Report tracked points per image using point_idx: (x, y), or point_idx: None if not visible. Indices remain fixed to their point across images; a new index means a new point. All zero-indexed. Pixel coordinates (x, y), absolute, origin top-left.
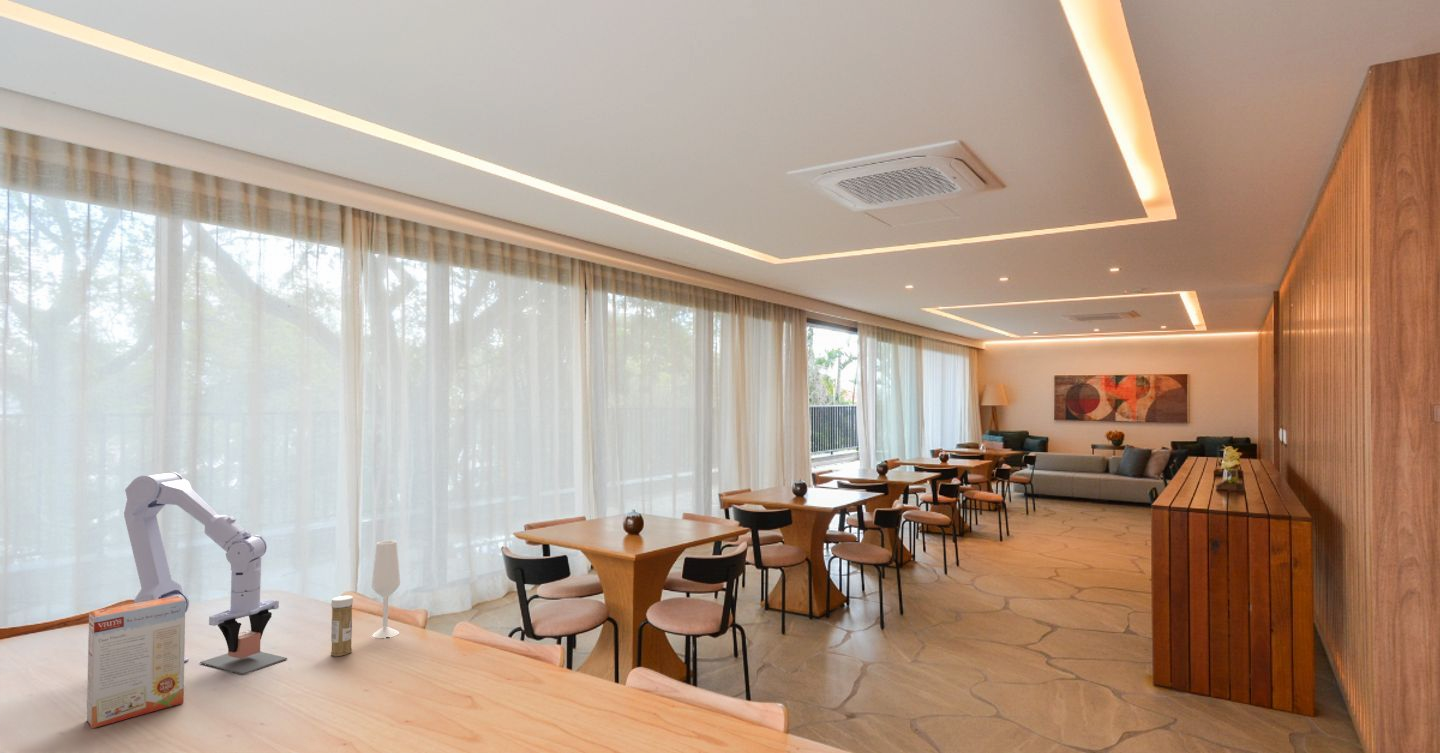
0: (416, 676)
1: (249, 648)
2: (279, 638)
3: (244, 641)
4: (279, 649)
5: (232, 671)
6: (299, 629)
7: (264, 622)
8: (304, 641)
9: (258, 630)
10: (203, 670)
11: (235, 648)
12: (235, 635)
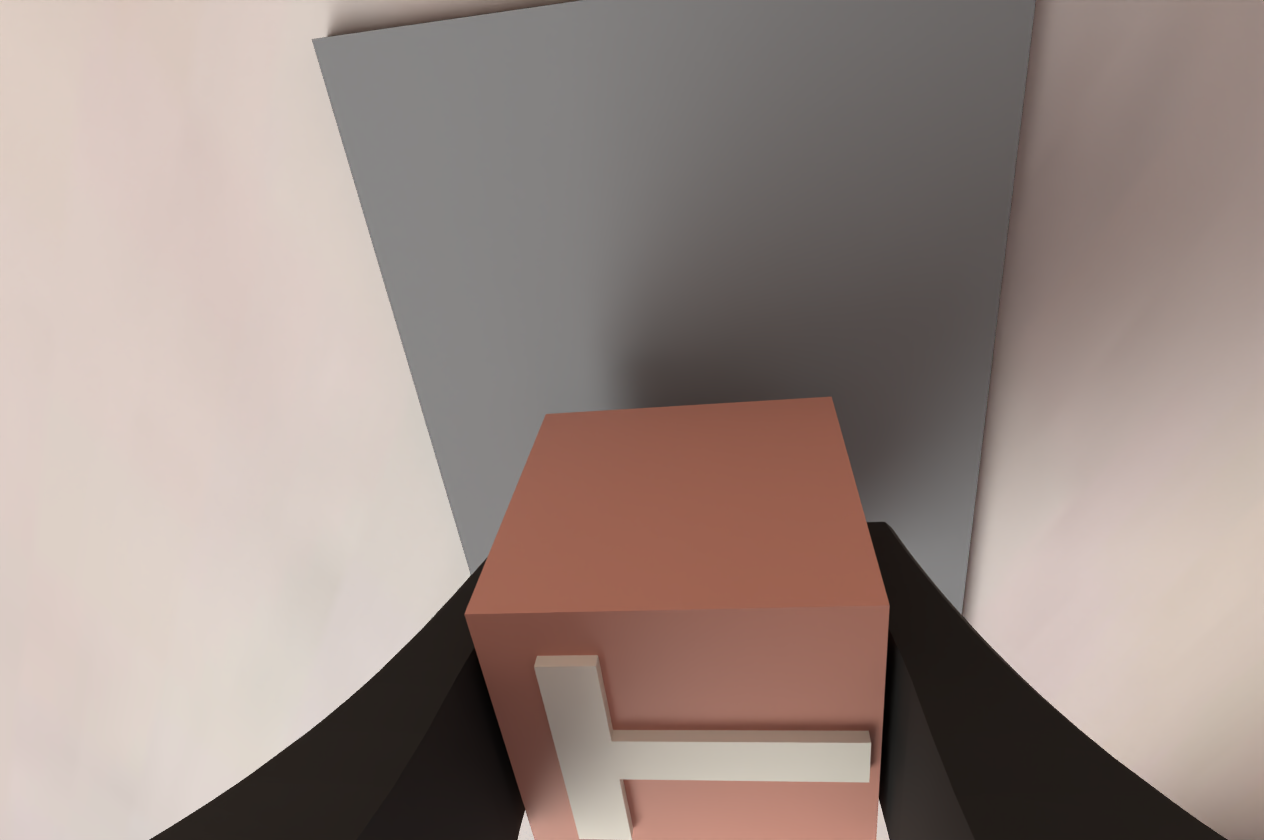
0: None
1: (693, 465)
2: (222, 743)
3: (792, 554)
4: (295, 501)
5: (1006, 218)
6: (47, 788)
7: (295, 805)
8: (35, 507)
9: (463, 709)
10: (1064, 571)
11: (885, 549)
12: (1003, 721)
